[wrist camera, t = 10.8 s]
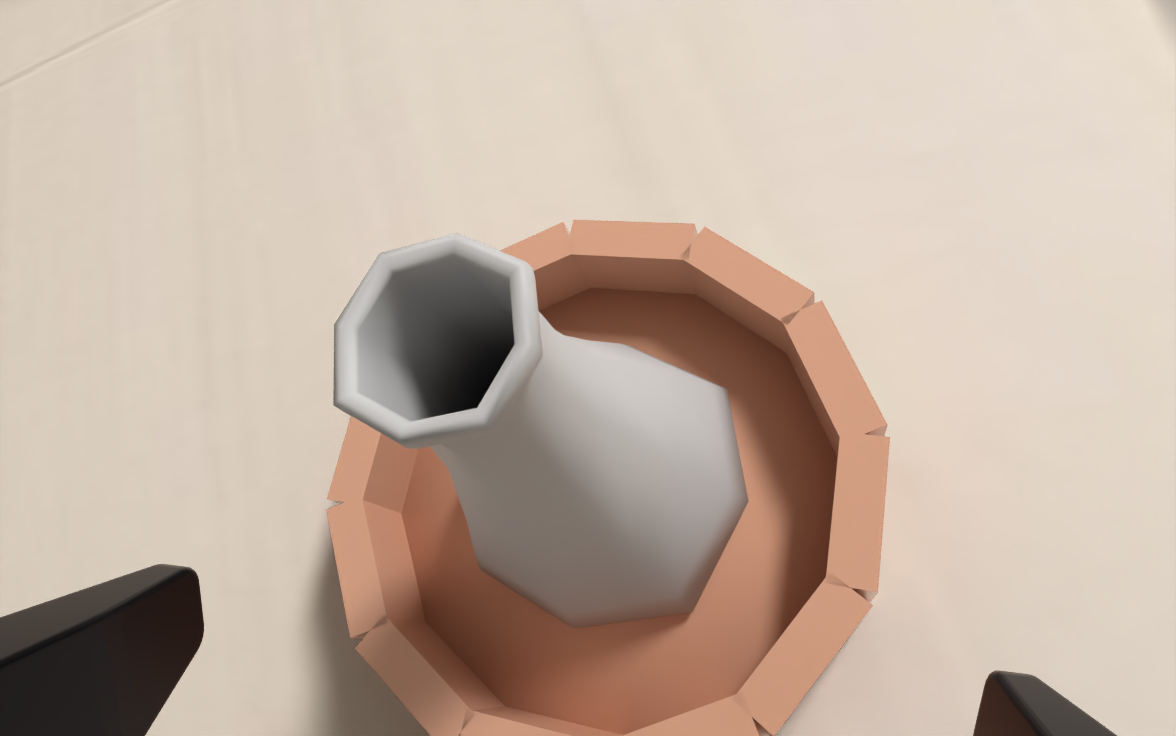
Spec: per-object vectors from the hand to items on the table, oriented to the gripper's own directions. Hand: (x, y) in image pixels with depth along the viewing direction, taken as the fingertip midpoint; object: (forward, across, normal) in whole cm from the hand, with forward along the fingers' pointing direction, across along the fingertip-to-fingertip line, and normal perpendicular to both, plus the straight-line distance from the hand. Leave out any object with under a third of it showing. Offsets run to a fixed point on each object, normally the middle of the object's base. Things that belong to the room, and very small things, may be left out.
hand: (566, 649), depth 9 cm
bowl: (+12, 0, +4) cm, 12 cm away
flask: (+11, +1, +3) cm, 11 cm away
